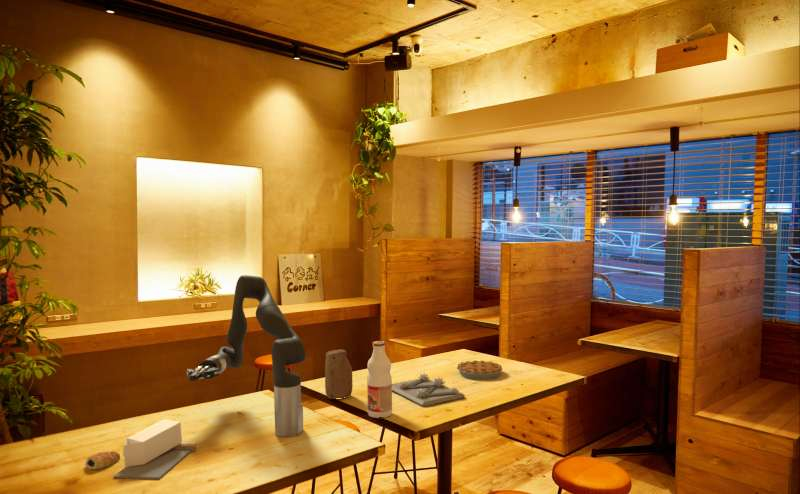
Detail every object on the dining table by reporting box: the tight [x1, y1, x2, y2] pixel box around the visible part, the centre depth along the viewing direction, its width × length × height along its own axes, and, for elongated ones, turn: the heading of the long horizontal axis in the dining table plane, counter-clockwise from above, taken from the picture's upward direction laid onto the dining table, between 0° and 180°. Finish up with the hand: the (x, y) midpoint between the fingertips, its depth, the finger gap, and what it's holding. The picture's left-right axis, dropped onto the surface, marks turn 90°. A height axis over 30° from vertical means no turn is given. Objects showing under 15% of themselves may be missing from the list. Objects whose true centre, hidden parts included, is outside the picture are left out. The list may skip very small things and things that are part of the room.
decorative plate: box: [392, 371, 466, 408], centre depth 236 cm, size 30×22×7 cm
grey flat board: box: [113, 443, 197, 480], centre depth 170 cm, size 16×21×2 cm
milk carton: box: [122, 418, 183, 468], centre depth 173 cm, size 7×7×19 cm
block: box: [324, 349, 353, 400], centre depth 232 cm, size 11×8×20 cm
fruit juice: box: [366, 340, 393, 419], centre depth 210 cm, size 9×9×28 cm
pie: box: [456, 360, 503, 380], centre depth 266 cm, size 22×22×5 cm
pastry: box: [84, 451, 121, 471], centre depth 170 cm, size 9×7×4 cm
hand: (192, 378), depth 194 cm, fingers closed
